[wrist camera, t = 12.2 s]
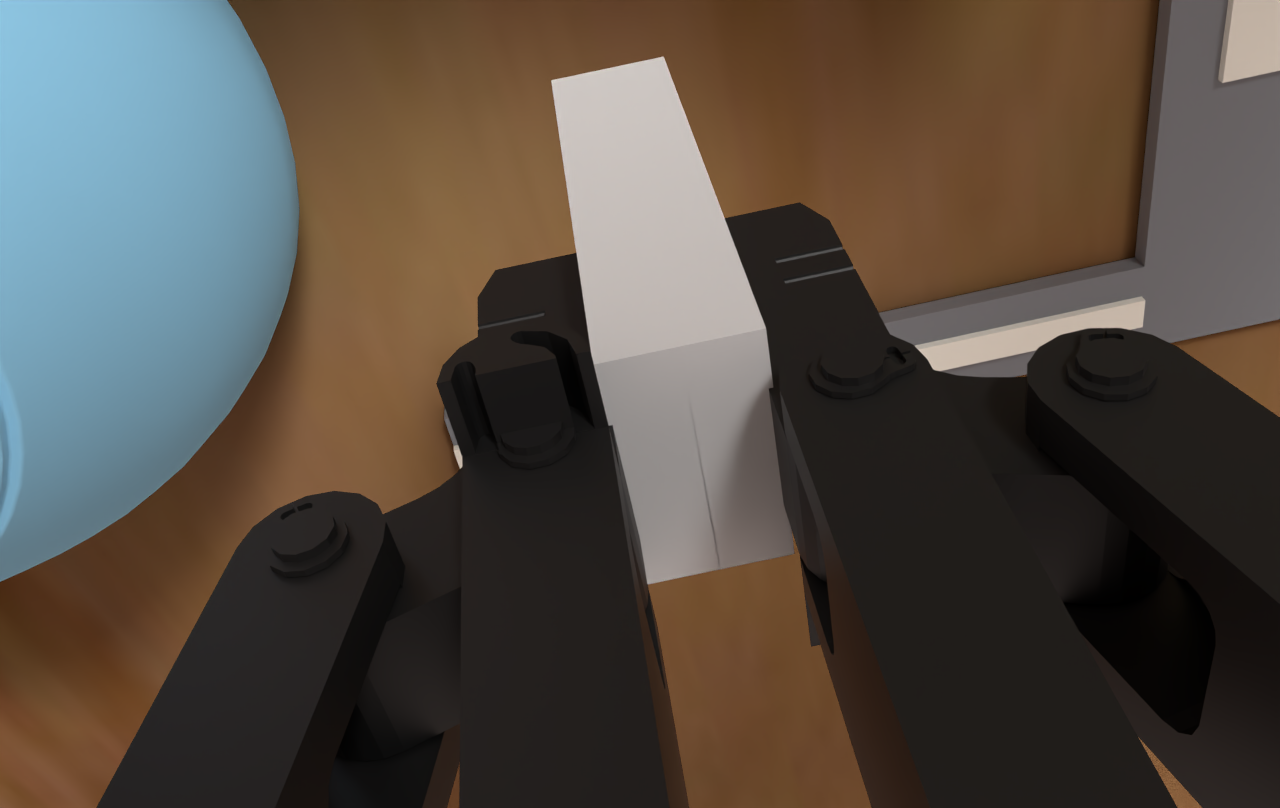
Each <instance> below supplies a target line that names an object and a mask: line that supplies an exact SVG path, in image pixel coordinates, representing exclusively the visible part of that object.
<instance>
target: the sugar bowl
mask: <svg viewBox="0 0 1280 808" xmlns="http://www.w3.org/2000/svg"><path fill="white" fill-rule="evenodd" d="M298 226H299V199H298V188H297V177H296V167H295V161H294V156H293V152H292V148H291V144H290V139H289V135H288V131H287V127H286V122H285V118H284V115H283V112H282V110H281V107H280V104H279V102H278V99H277V96H276V94H275V91H274V89H273V86H272V83H271V81H270V78H269V75H268V73H267V70H266V68H265V66H264V64H263V62H262V60H261V58H260V56H259V54H258V52H257V51H256V49H255V47H254V45H253V43H252V41H251V39H250V37H249V35H248V34H247V32H246V30H245V28H244V26H243V24H242V22H241V20H240V18H239V17H238V16H237V14H236V13H235V11H234V10H233V8H232V7H231V5H230V4H229V2H228V1H227V0H0V582H1V581H3V580H5V579H7V578H10V577H12V576H14V575H16V574H19V573H21V572H23V571H26V570H28V569H30V568H32V567H34V566H36V565H38V564H40V563H43V562H45V561H47V560H49V559H51V558H53V557H55V556H57V555H59V554H61V553H63V552H65V551H67V550H69V549H70V548H72V547H74V546H76V545H78V544H79V543H81V542H83V541H85V540H87V539H88V538H90V537H92V536H94V535H95V534H97V533H99V532H100V531H102V530H103V529H105V528H106V527H108V526H109V525H111V524H112V523H114V522H116V521H117V520H119V519H120V518H122V517H123V516H125V515H126V514H128V513H129V512H130V511H132V510H133V509H134V508H135V507H137V506H138V505H139V504H140V503H142V502H143V501H144V500H145V499H147V498H148V497H149V496H150V495H152V494H153V493H154V492H155V491H156V490H157V489H159V488H160V487H161V486H162V485H163V484H164V483H165V482H167V481H168V480H169V479H170V478H171V477H172V476H174V475H175V474H176V473H177V472H178V471H179V470H180V469H182V468H183V467H184V466H185V464H186V463H187V462H188V461H189V460H190V459H191V458H192V456H193V455H194V454H195V453H196V452H197V451H198V449H199V448H200V447H201V446H202V445H203V444H204V443H205V441H206V440H207V439H208V438H209V437H210V435H211V434H212V433H213V432H214V431H215V429H216V428H217V427H218V426H219V425H220V423H221V422H222V421H223V420H224V419H225V418H226V416H227V415H228V414H229V413H230V411H231V410H232V408H233V407H234V405H235V404H236V402H237V400H238V399H239V397H240V396H241V394H242V393H243V391H244V390H245V388H246V386H247V385H248V383H249V381H250V380H251V378H252V376H253V375H254V373H255V371H256V370H257V368H258V366H259V364H260V363H261V361H262V359H263V358H264V356H265V354H266V352H267V349H268V347H269V344H270V341H271V339H272V336H273V334H274V331H275V329H276V326H277V324H278V321H279V319H280V316H281V313H282V310H283V307H284V304H285V301H286V298H287V295H288V292H289V287H290V283H291V278H292V273H293V269H294V264H295V259H296V255H297V243H298Z"/></svg>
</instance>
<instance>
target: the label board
mask: <svg viewBox="0 0 1280 808" xmlns="http://www.w3.org/2000/svg"><path fill="white" fill-rule="evenodd" d="M879 315H880V317H881V318H882V320H883V322H884V324H885V326H886V328H887V330H888V332H889V333H890V335H893V336H895V337H897V338H899V339H902V340H904V341H906V342H909V343H911V344H913V345H914V346H915V347H916V348H917V349H918V350H919V351H920V352H921V353H922V354H923V355H924V356H925V357H926V358H927V359H928V361H929V363H930V365H931V367H932V368H933V370H936V371H941V372H945V373H949V374H954V375H959V376H973V377H1016V376H1021V375H1026V374H1027V363H1028V362H1029V361H1030V359H1031V358H1032V356H1033V355H1034V353H1035V352H1036V350H1037V349H1038V347H1040V346H1042V345H1044V344H1045V343H1047V342H1049V341H1050V340H1052V339H1054V338H1056V337H1057V336H1059V335H1062V334H1066V333H1070V332H1075V331H1079V330H1083V329H1087V328H1123V329H1128V330H1133V331H1138V332H1142V333H1147V334H1152V335H1154V336H1156V337H1158V338H1160V339H1162V340H1164V341H1166V342H1168V343H1173V342H1177V341H1182V340H1187V339H1191V338H1196V337H1200V336H1205V335H1210V334H1214V333H1219V332H1223V331H1228V330H1233V329H1237V328H1242V327H1246V326H1251V325H1256V324H1260V323H1265V322H1269V321H1274V320H1279V319H1280V0H1160V2H1159V12H1158V22H1157V33H1156V43H1155V54H1154V64H1153V74H1152V85H1151V95H1150V106H1149V116H1148V126H1147V137H1146V147H1145V158H1144V168H1143V178H1142V189H1141V199H1140V209H1139V220H1138V230H1137V241H1136V251H1135V257H1134V258H1129V259H1124V260H1120V261H1115V262H1111V263H1106V264H1101V265H1097V266H1092V267H1088V268H1083V269H1078V270H1074V271H1069V272H1065V273H1060V274H1055V275H1051V276H1046V277H1042V278H1037V279H1032V280H1028V281H1023V282H1019V283H1014V284H1009V285H1005V286H1000V287H996V288H991V289H986V290H982V291H977V292H973V293H968V294H963V295H959V296H954V297H950V298H945V299H940V300H936V301H931V302H927V303H922V304H917V305H913V306H908V307H904V308H899V309H894V310H890V311H885V312H881V313H879ZM444 420H445V423H446V425H447V428H448V431H449V434H450V437H451V440H452V443H453V445H454V453H455V456H456V459H457V462H458V465H459V468H460V469H461V468H462V455H461V452H460V449H459V446H458V444H457V441H456V438H455V435H454V432H453V429H452V427H451V424H450V421H449V418H448V415H447V412H446V409H445V410H444Z"/></svg>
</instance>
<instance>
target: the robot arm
mask: <svg viewBox="0 0 1280 808" xmlns="http://www.w3.org/2000/svg"><path fill="white" fill-rule="evenodd" d="M551 82H552V89H553V96H554V103H555V110H556V116H557V123H558V130H559V137H560V144H561V151H562V157H563V164H564V171H565V178H566V185H567V192H568V198H569V205H570V212H571V219H572V226H573V232H574V239H575V246H576V253H574V254H569V255H565V256H560V257H555V258H551V259H546V260H541V261H536V262H532V263H527V264H522V265H517V266H513V267H508V268H503V269H499V270H495V272H494V273H493V275H492V276H491V278H490V279H489V281H488V283H487V284H486V286H485V287H484V289H483V290H482V292H481V293H480V295H479V296H478V327H479V330H478V337H477V338H476V339H474V340H472V341H470V342H469V343H467V344H465V345H464V346H462V347H460V348H459V349H458V350H457V351H456V352H455V353H454V354H453V355H452V356H451V357H450V358H449V359H448V360H447V361H446V363H445V364H444V365H443V366H442V369H441V372H440V375H439V378H438V381H437V383H436V384H437V387H438V389H439V392H440V395H441V398H442V401H443V404H444V407H445V409H446V412H447V415H448V418H449V421H450V424H451V427H452V429H453V432H454V435H455V438H456V441H457V444H458V446H459V449H460V452H461V455H462V468H461V469H460V470H459V471H458V472H457V473H456V474H455V475H454V476H453V477H452V478H450V479H449V480H448V481H446V482H445V483H444V484H442V485H441V486H440V487H439V488H437V489H435V490H433V491H431V492H430V493H428V494H426V495H424V496H422V497H420V498H418V499H416V500H414V501H412V502H410V503H407V504H405V505H403V506H401V507H399V508H396V509H394V510H392V511H390V512H387V513H385V514H382V512H381V510H380V508H379V506H378V504H377V503H375V502H373V501H371V500H370V499H368V498H366V497H364V496H363V495H361V494H357V493H348V492H338V491H332V492H327V493H321V494H316V495H310V496H306V497H303V498H301V499H299V500H296V501H294V502H292V503H290V504H287V505H285V506H283V507H280V508H278V509H277V510H275V511H274V512H273V513H271V514H270V515H269V516H267V517H266V518H264V519H263V520H262V521H260V522H259V523H258V524H256V525H255V526H254V527H253V528H252V529H251V531H250V532H249V533H248V534H247V536H246V537H245V538H244V539H243V541H242V542H241V543H240V545H239V546H238V547H237V549H236V550H235V552H234V554H233V556H232V558H231V560H230V562H229V563H228V565H227V567H226V569H225V571H224V573H223V575H222V576H221V578H220V580H219V582H218V584H217V586H216V587H215V589H214V591H213V593H212V595H211V597H210V599H209V600H208V602H207V604H206V606H205V608H204V610H203V612H202V613H201V615H200V617H199V619H198V621H197V623H196V624H195V626H194V628H193V630H192V632H191V634H190V636H189V637H188V639H187V641H186V643H185V645H184V647H183V649H182V650H181V652H180V654H179V656H178V658H177V660H176V662H175V663H174V665H173V667H172V669H171V671H170V673H169V674H168V676H167V678H166V680H165V682H164V684H163V686H162V687H161V689H160V691H159V693H158V695H157V697H156V699H155V700H154V702H153V704H152V706H151V708H150V710H149V711H148V713H147V715H146V717H145V719H144V721H143V723H142V724H141V726H140V728H139V730H138V732H137V734H136V736H135V737H134V739H133V741H132V743H131V745H130V747H129V749H128V750H127V752H126V754H125V756H124V758H123V760H122V761H121V763H120V765H119V767H118V769H117V771H116V773H115V774H114V776H113V778H112V780H111V782H110V784H109V786H108V787H107V789H106V791H105V793H104V795H103V797H102V798H101V800H100V802H99V804H98V806H97V808H447V805H448V802H449V798H450V795H451V791H452V787H453V784H454V780H455V777H456V773H457V769H458V766H459V762H460V796H459V808H689V805H688V799H687V793H686V787H685V782H684V776H683V770H682V765H681V759H680V753H679V747H678V742H677V736H676V730H675V725H674V719H673V713H672V707H671V702H670V696H669V690H668V684H667V679H666V673H665V667H664V662H663V656H662V650H661V644H660V639H659V633H658V627H657V623H656V618H655V614H654V610H653V606H652V602H651V598H650V594H649V590H648V584H652V583H657V582H662V581H667V580H671V579H676V578H681V577H686V576H691V575H695V574H700V573H705V572H710V571H715V570H719V569H724V568H729V567H734V566H739V565H743V564H748V563H753V562H758V561H763V560H768V559H772V558H777V557H782V556H787V555H792V554H794V546H793V538H792V532H793V535H794V538H795V541H796V544H797V547H798V550H799V554H800V560H801V568H802V576H803V584H804V592H805V600H806V609H807V617H808V625H809V633H810V641H811V646H816V645H821V647H822V651H823V654H824V657H825V660H826V663H827V666H828V670H829V673H830V676H831V679H832V682H833V686H834V689H835V692H836V695H837V698H838V701H839V705H840V708H841V711H842V714H843V717H844V721H845V724H846V727H847V730H848V733H849V737H850V740H851V743H852V746H853V749H854V752H855V756H856V759H857V762H858V765H859V768H860V772H861V775H862V778H863V781H864V784H865V788H866V791H867V794H868V797H869V800H870V803H871V807H872V808H1177V806H1176V804H1175V803H1174V801H1173V799H1172V797H1171V795H1170V794H1169V792H1168V790H1167V788H1166V786H1165V785H1164V783H1163V781H1162V779H1161V777H1160V776H1159V774H1158V772H1157V770H1156V768H1155V767H1154V765H1153V763H1152V761H1151V759H1150V758H1149V756H1148V754H1147V752H1146V750H1145V749H1144V747H1143V745H1142V743H1141V742H1140V740H1139V738H1140V739H1141V740H1142V741H1143V742H1144V743H1145V745H1146V746H1147V747H1148V748H1149V749H1150V750H1151V751H1152V752H1153V753H1154V755H1155V756H1156V757H1157V758H1158V759H1159V760H1160V761H1161V762H1162V763H1163V764H1164V766H1165V767H1166V768H1167V769H1168V770H1169V771H1170V772H1171V773H1172V774H1173V776H1174V777H1175V778H1176V779H1177V780H1178V781H1179V782H1180V783H1181V784H1182V785H1183V787H1184V788H1185V789H1186V790H1187V791H1188V792H1189V793H1190V794H1191V795H1192V797H1193V798H1194V799H1195V800H1196V801H1197V802H1198V803H1199V804H1200V805H1201V807H1202V808H1280V417H1278V416H1277V415H1275V414H1274V413H1272V412H1271V411H1270V410H1268V409H1267V408H1265V407H1264V406H1262V405H1261V404H1259V403H1258V402H1256V401H1255V400H1254V399H1252V398H1251V397H1249V396H1248V395H1246V394H1245V393H1243V392H1242V391H1241V390H1239V389H1238V388H1236V387H1235V386H1233V385H1232V384H1230V383H1229V382H1228V381H1226V380H1225V379H1223V378H1222V377H1220V376H1219V375H1217V374H1216V373H1215V372H1213V371H1212V370H1210V369H1209V368H1207V367H1206V366H1204V365H1203V364H1201V363H1200V362H1199V361H1197V360H1196V359H1194V358H1193V357H1191V356H1190V355H1188V354H1187V353H1186V352H1184V351H1183V350H1181V349H1180V348H1178V347H1177V346H1175V345H1172V344H1170V343H1168V342H1166V341H1164V340H1162V339H1160V338H1158V337H1156V336H1154V335H1152V334H1147V333H1142V332H1138V331H1133V330H1128V329H1123V328H1087V329H1083V330H1079V331H1075V332H1070V333H1066V334H1062V335H1059V336H1057V337H1056V338H1054V339H1052V340H1050V341H1049V342H1047V343H1045V344H1044V345H1042V346H1040V347H1038V349H1037V350H1036V352H1035V353H1034V355H1033V356H1032V358H1031V359H1030V361H1029V362H1028V363H1027V377H973V376H959V375H954V374H949V373H945V372H941V371H936V370H933V368H932V367H931V365H930V363H929V361H928V359H927V358H926V357H925V356H924V355H923V354H922V353H921V352H920V351H919V350H918V349H917V348H916V347H915V346H914V345H913V344H911V343H909V342H906V341H904V340H902V339H899V338H897V337H895V336H893V335H890V333H889V332H888V330H887V328H886V326H885V324H884V322H883V320H882V318H881V317H880V315H879V313H878V311H877V309H876V307H875V305H874V303H873V301H872V300H871V298H870V296H869V294H868V292H867V290H866V288H865V286H864V285H863V283H862V281H861V279H860V277H859V275H858V273H857V271H856V270H855V269H853V264H852V262H851V260H850V258H849V256H848V255H847V253H846V251H845V249H843V247H842V243H841V241H840V240H839V238H838V236H837V234H836V232H835V230H834V228H833V226H832V225H831V223H830V221H829V220H828V219H826V218H825V217H823V216H821V215H820V214H818V213H816V212H815V211H813V210H811V209H810V208H808V207H806V206H805V205H803V204H801V203H795V204H790V205H786V206H781V207H776V208H771V209H767V210H762V211H757V212H752V213H748V214H743V215H738V216H734V217H729V218H724V216H723V213H722V210H721V208H720V205H719V202H718V200H717V197H716V194H715V192H714V189H713V186H712V184H711V181H710V178H709V176H708V173H707V171H706V168H705V165H704V163H703V160H702V157H701V155H700V152H699V149H698V147H697V144H696V141H695V139H694V136H693V133H692V131H691V128H690V125H689V123H688V120H687V117H686V115H685V112H684V109H683V107H682V104H681V102H680V99H679V96H678V94H677V91H676V88H675V86H674V83H673V80H672V78H671V75H670V72H669V70H668V67H667V64H666V62H665V59H664V57H659V58H654V59H649V60H645V61H640V62H635V63H631V64H626V65H621V66H617V67H612V68H607V69H603V70H598V71H593V72H588V73H584V74H579V75H574V76H570V77H565V78H560V79H556V80H551ZM791 529H792V530H791ZM1138 737H1139V738H1138Z"/></svg>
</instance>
